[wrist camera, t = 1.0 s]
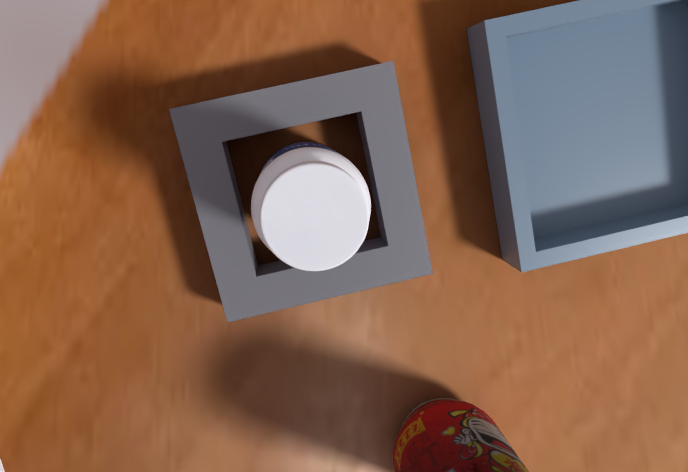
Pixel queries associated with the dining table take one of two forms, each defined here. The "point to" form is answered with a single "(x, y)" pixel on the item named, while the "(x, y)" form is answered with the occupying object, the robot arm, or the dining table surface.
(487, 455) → the soda can
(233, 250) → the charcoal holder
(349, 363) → the dining table surface
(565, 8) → the parts tray
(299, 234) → the pill bottle
